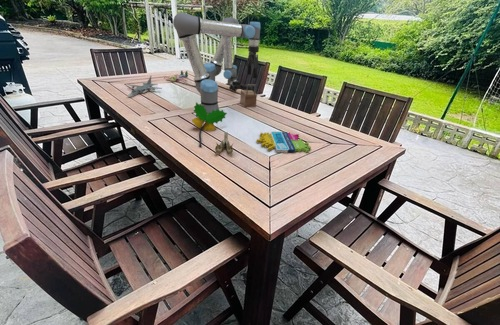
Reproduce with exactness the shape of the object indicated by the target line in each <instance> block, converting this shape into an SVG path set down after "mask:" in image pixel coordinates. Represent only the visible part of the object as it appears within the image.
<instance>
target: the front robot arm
mask: <svg viewBox="0 0 500 325" xmlns="http://www.w3.org/2000/svg"><path fill="white" fill-rule="evenodd" d="M172 20H173V21H172V25H173V27H174V29H175V31H176V33H177V36H178V39H179V40H180V41H182V43H183V46H184V50H185V52H186V55H187V58H188V60H189V63H190V67H191V69H192V72H193V75H194V78H193V80H194V83H195V86H196V87H195V88H196V90H197V92H198V93H199V94H200V104H201V106H204V109H206V112H208V113H211V112H212V110H214V111H216V110H217V109H219V111H221V110H220V108H219V102H218V99H219V98H218V97H219V85H218V82H217V81H216V80H215V81H214V80H211V78H210V75H209V74H208V73H207V72H206V69H205V66H204V64H205V63H204V61H203V57H202V55H201V51H200V49H199V45H198V41H197V38H196V35H201V34H207V35H216V36H222V35H225V36H234V37H233V38H235V37H236V38H243V39H248V47H247V48H248V50H247V51H248V56H247V61H246V65H247V72H246V75H249V76H250V75H252V79H258V70H259V69H260V65H259V54H258V53H259V52H260V47H259V46H260V43H261V41H260V37H261V22H260V21H250V22H249V24H244V23H243V24H242V23H239V24H235V23H227V22H222V21H220V20H219V21H218V20H211V19H204V18H202V17H200V16H195V15H192V14H189V13H186V12H179V13H176V14H175V16H174V17H173V19H172ZM252 64H253V65H252ZM252 66H253V68H252ZM252 70H253V72H252ZM208 113H207V115H208ZM204 125H205V123H203V125H202V127H201V129H200V128H199V134H198V137H199V148H201V147H202V131H203V130H204V129H203V127H204Z"/></svg>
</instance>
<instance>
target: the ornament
mask: <svg viewBox="0 0 500 325" xmlns="http://www.w3.org/2000/svg"><path fill="white" fill-rule="evenodd" d="M219 110H220V108H219V109H217V110H216V111H214V110H212V112H211V113H208V112H206V109H204V106H201V103H198V102H195V105H194V106H193V112H194V113H195V118H192V119H191V122H192V123H193V125H195V127H197V128H198V129H199V130H200V129H201V127H202V126H203V125H204V124H205V125H204V127H203V129H202V130H203V131H206V132H212V131H213V132H214V131H215V130H216V126H215V124H218V123H219V122H223V119H226V115H227V114H228V113H227V112H224V110H223V109H221V110H220V111H219ZM207 113H208V115H207ZM214 123H215V124H214Z"/></svg>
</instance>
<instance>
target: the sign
mask: <svg viewBox="0 0 500 325" xmlns="http://www.w3.org/2000/svg"><path fill="white" fill-rule="evenodd" d="M299 136H300V135H299V134H298V133H296V134H294V133H291V132H287V131H270V132H264V133H263V132H260V133H259V139H258V138H257V139H256V143H257V144H261V148H263V147H264V148H265V149H267V151H268V152H271V151H272V150H273V149H275V152H276V153H283V154H285V153H287V154H288V153H290V154H293V153H296V152H298V153H301V152H305V153H310V151H311V150H312V149H311V148H312V146H309V142H304V141H303V139H302V138H299Z"/></svg>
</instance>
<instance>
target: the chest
mask: <svg viewBox="0 0 500 325" xmlns="http://www.w3.org/2000/svg"><path fill="white" fill-rule="evenodd" d="M257 97H258V95H257V96H247V97H246V96H245V95H244V94H243V93H241V92H240V99H239V100H240V101H239V103H240V105H242V106H243V107H244V108H255V107H257V99H258V98H257Z"/></svg>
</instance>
